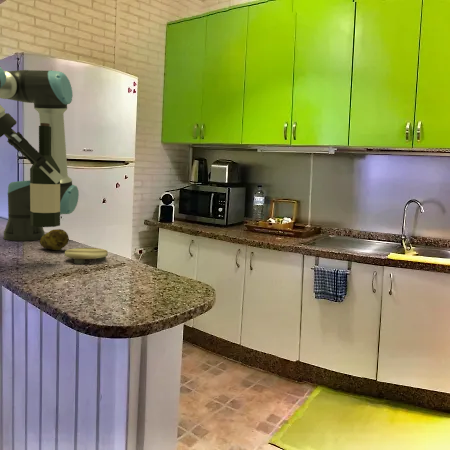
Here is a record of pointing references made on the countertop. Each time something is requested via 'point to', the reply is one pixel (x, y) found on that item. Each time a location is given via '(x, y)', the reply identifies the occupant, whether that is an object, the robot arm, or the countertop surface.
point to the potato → (54, 239)
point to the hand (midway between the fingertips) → (57, 179)
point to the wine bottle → (44, 186)
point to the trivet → (86, 254)
